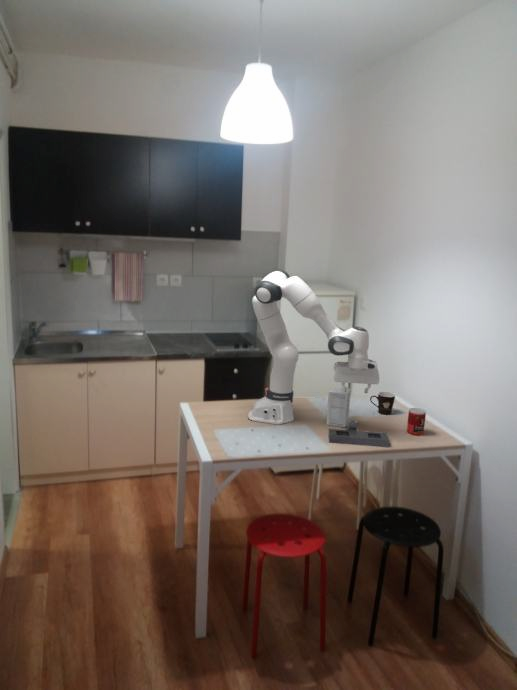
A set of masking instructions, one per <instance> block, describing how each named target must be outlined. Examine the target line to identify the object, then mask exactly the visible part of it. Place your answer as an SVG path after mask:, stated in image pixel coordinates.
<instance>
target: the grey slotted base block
mask: <svg viewBox="0 0 517 690" xmlns="http://www.w3.org/2000/svg"><path fill="white" fill-rule="evenodd" d="M327 434H328V435H327V436H328V437H327V438H328V443H331V444H343V445H344V444H345V445H346V444H347V445H355V446H356V445H357V446H370V447H382V448H384V447H385V448H389V446H390V438H389V436H388V433H387V432H379V431H378V432H377V431H376V432H375V431H365V430H364V431H363V430H357V431H352V430H347V429H338V428H337V429H336V428H328V433H327Z"/></svg>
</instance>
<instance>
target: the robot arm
mask: <svg viewBox="0 0 517 690" xmlns="http://www.w3.org/2000/svg"><path fill="white" fill-rule="evenodd" d="M282 298H283V299H286V300H287V301H288V302H289V303H290V305H291V306H292V307H293V309H295V311H296V312H297V313H298V314H299V315H301V316H302V317H303V318H306V319H309V320H312V321H314V323H316V325H317V326H318V327H319V328H320V329H321V330H322V332H323V333H324V334H325V335H326V337H327V349H328V351H329V352H330V353H331V354H332V355H334V356H346V355H347V361H337V362H335V363H334V364H333V370H334V376H333V380H334V382H336V383H341V387H342V388H344V392H347V388H348V387H347V386H345V385H346V383H349V384H363V385H365V384H367V387H366V388H364V394H368V393H369V390H370V389H371V387H372V385H378V384H379V383H380V372H379V369H378V362H377V361H375V360H374V359H373V360H372V359H370V358H368V357H369V355H368V350H369V344H370V337H369V332H368V330H367V329H366V328H364V327H361V326H356V325H355V326H351V327H350V328H348V329H347V330H345V329H343V328H342V327H339V326H338V325H337V324H336V323H335V321H333V320H332V318H331V317H330V316H329V315H328V314H327V313H326V311H325V308H324V307H323V305H322V304H321V301H320V300H319V298H318V297H317V295H316V293H315V292H314V291H313V290H312V289H311V287H310V286H309V285H308V284H307V283H306V282H305V281H304V280H303V279H302V278H301V277H299V276H297V275H294V276H290V274H289V273H288V272H287V271H285V270H284V269H276V270H273V271H271V272H270V273H268V274H267V275H265V276H264V277H263V279H262V280H261V281H259V282H258V284H257V285H256V287H255V290H254V296H253V297H252V299H251V300H252V301H251V303H252V307H253V311H254V314H255V316H256V319H257V321H258V324H259V325H260V328H261V331H262V334H263V337H264V339H265V342H266V345H267V347H268V350H269V353H270V355H271V356H272V357H273V364H272V369H271V373H270V382H269V387H266V388H264V393H265V394H264V397H261V398H260V399H258V400H257V401H256V402H255V403H254V404H253V408H252V409H251V410H250V411H249V412H248V413H247V418H249V419H250V420H249V421H251V420H252V421H253V422H260V423H265V424H272V425H282V424H285V423H291V422H293V421H294V420H295V416H294V409H293V402H294V376H295V371H296V367H297V362H298V360H299V358H300V357H299V351H298V348H297V347H296V346H295V344H293V342H292V341H291V340H290V336H289V333H288V330H287V327H286V323H285V321H284V319H283V316H282V314H281V311H280V309H279V307H278V304H277V302H279V301H281V300H282Z"/></svg>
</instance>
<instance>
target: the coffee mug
mask: <svg viewBox="0 0 517 690" xmlns="http://www.w3.org/2000/svg"><path fill="white" fill-rule="evenodd" d="M372 398H376V399H377V401H378V402H377V403H378V405H377V404H375V403H374V402H373V400H372ZM395 398H396V394H395V393H393V392H388V391H379V392H378V393H377V395H372V396H370V398H369V400H370V403H372V404H373V405H374V406H375V407H376V408H377V409H378V410H377V411H378V414H379V415H381V416H382V415H383V416H391V415H392V412H393V409H394V404H395V400H396V399H395Z"/></svg>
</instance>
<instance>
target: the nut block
mask: <svg viewBox="0 0 517 690" xmlns="http://www.w3.org/2000/svg"><path fill="white" fill-rule="evenodd" d="M346 427H347V428H346V430H352V431H358V420H357V419H354V418H353V419H352V418H350V419H349V418H348V423H347V426H346Z"/></svg>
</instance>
